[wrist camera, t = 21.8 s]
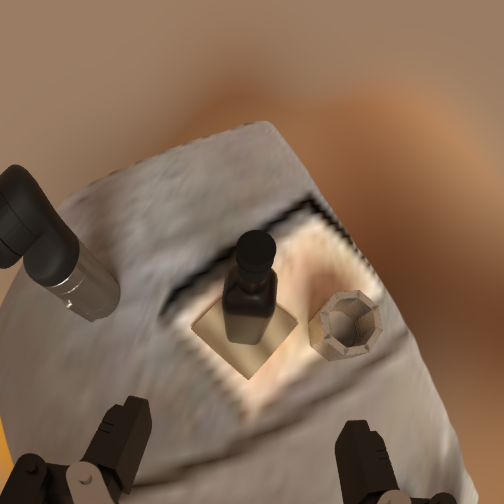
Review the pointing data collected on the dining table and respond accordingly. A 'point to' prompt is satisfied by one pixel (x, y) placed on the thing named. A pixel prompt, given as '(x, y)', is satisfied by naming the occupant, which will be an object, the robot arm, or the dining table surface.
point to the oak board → (243, 355)
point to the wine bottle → (250, 289)
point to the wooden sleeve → (357, 310)
